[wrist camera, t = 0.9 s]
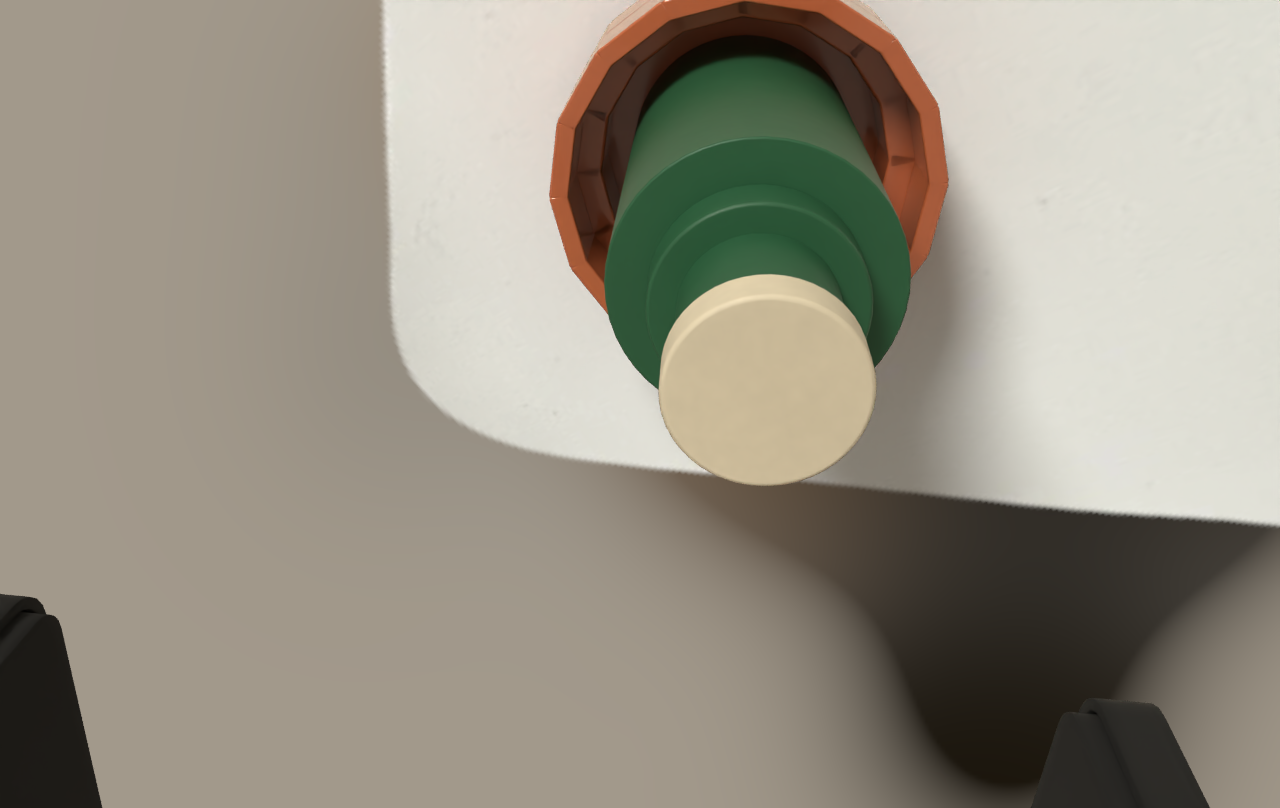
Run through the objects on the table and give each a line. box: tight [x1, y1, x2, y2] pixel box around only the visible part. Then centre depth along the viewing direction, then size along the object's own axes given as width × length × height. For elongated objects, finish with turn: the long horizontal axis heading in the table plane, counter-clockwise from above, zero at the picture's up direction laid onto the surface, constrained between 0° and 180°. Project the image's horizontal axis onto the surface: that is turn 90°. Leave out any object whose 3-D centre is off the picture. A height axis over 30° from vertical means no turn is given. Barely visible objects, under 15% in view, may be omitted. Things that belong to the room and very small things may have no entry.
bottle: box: [604, 35, 911, 486], centre depth 25 cm, size 6×6×16 cm
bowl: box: [549, 0, 949, 314], centre depth 30 cm, size 10×10×5 cm
